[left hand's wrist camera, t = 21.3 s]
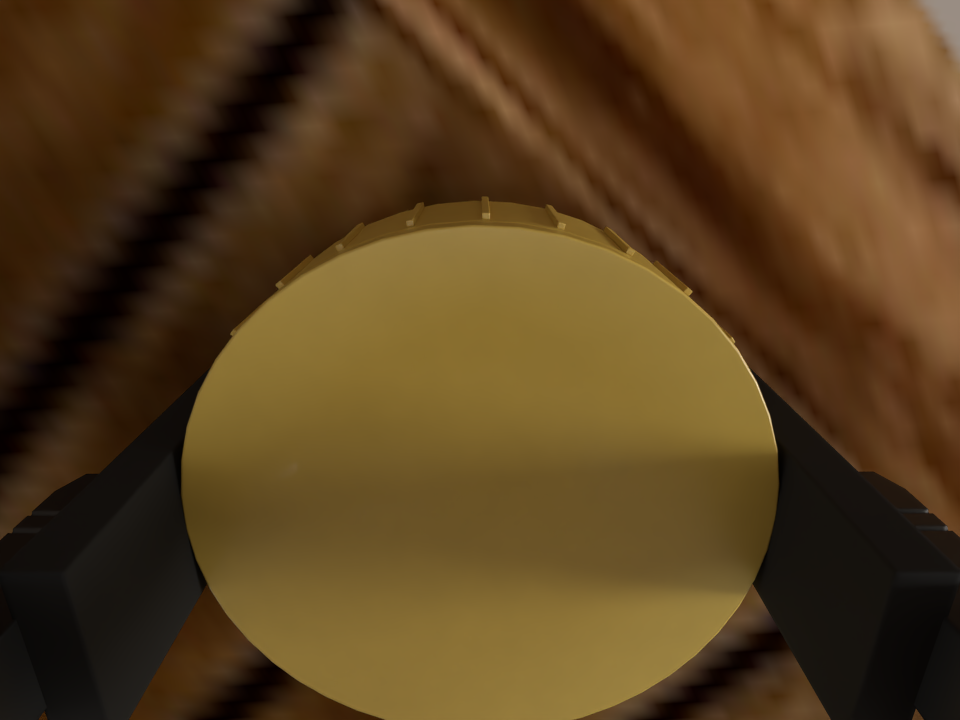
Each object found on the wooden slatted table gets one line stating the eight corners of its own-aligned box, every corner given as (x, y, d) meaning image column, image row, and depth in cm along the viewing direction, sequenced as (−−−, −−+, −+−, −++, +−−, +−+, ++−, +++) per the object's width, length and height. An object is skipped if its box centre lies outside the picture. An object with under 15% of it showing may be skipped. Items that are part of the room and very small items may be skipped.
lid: (410, 693, 15) (398, 799, 12) (126, 371, 12) (43, 434, 9) (800, 516, 13) (868, 602, 11) (582, 80, 10) (613, 71, 8)
